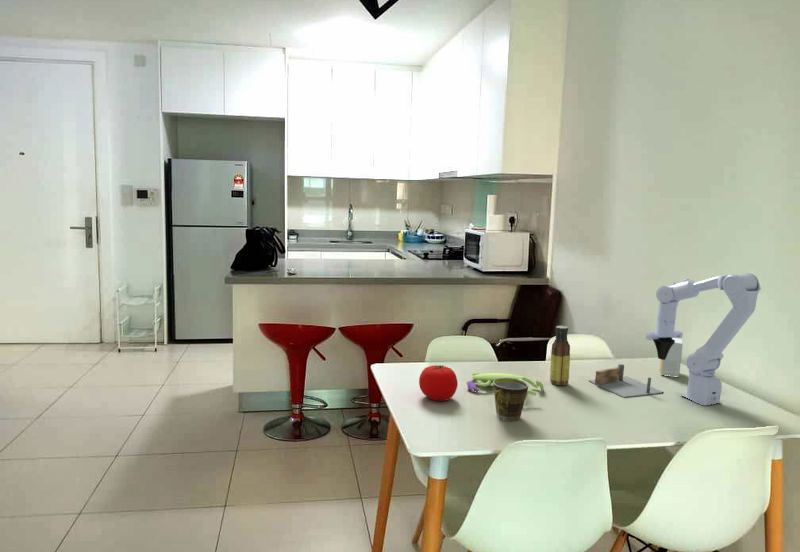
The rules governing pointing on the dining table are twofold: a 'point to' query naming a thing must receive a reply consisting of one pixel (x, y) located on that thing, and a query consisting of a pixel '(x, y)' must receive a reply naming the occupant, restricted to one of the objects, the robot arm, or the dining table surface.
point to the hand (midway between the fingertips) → (661, 358)
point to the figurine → (490, 377)
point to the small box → (672, 359)
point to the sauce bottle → (560, 358)
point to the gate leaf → (607, 375)
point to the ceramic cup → (509, 397)
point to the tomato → (438, 382)
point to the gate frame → (628, 386)
